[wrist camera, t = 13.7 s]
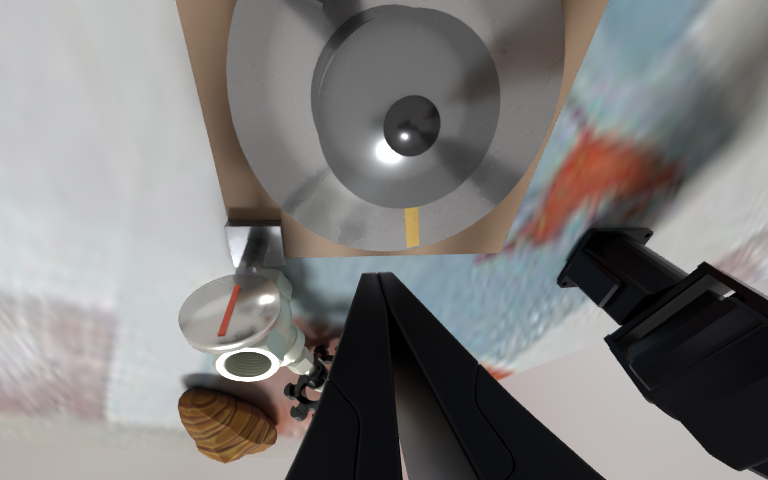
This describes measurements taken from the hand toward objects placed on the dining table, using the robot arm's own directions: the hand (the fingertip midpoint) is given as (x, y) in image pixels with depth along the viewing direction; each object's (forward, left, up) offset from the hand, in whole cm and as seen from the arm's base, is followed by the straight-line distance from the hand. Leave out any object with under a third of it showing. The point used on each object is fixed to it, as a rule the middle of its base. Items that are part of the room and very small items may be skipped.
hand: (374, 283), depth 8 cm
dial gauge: (+5, +5, -10) cm, 12 cm away
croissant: (+11, +29, -11) cm, 33 cm away
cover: (-2, -3, -8) cm, 9 cm away
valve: (+4, +14, -11) cm, 18 cm away
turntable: (-3, -3, -10) cm, 10 cm away
